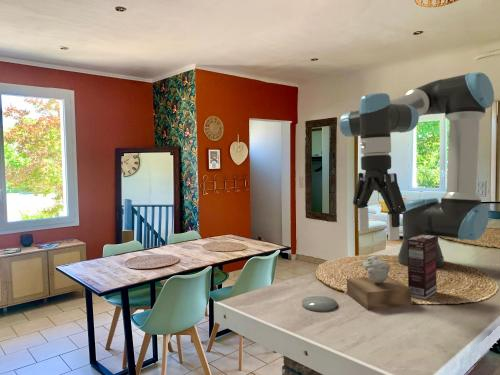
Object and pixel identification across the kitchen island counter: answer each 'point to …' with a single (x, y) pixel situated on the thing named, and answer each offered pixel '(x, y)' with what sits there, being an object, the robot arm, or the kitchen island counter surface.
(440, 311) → the kitchen island counter surface
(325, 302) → the grey oval dome
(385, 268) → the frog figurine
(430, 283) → the supplement box
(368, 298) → the walnut block
